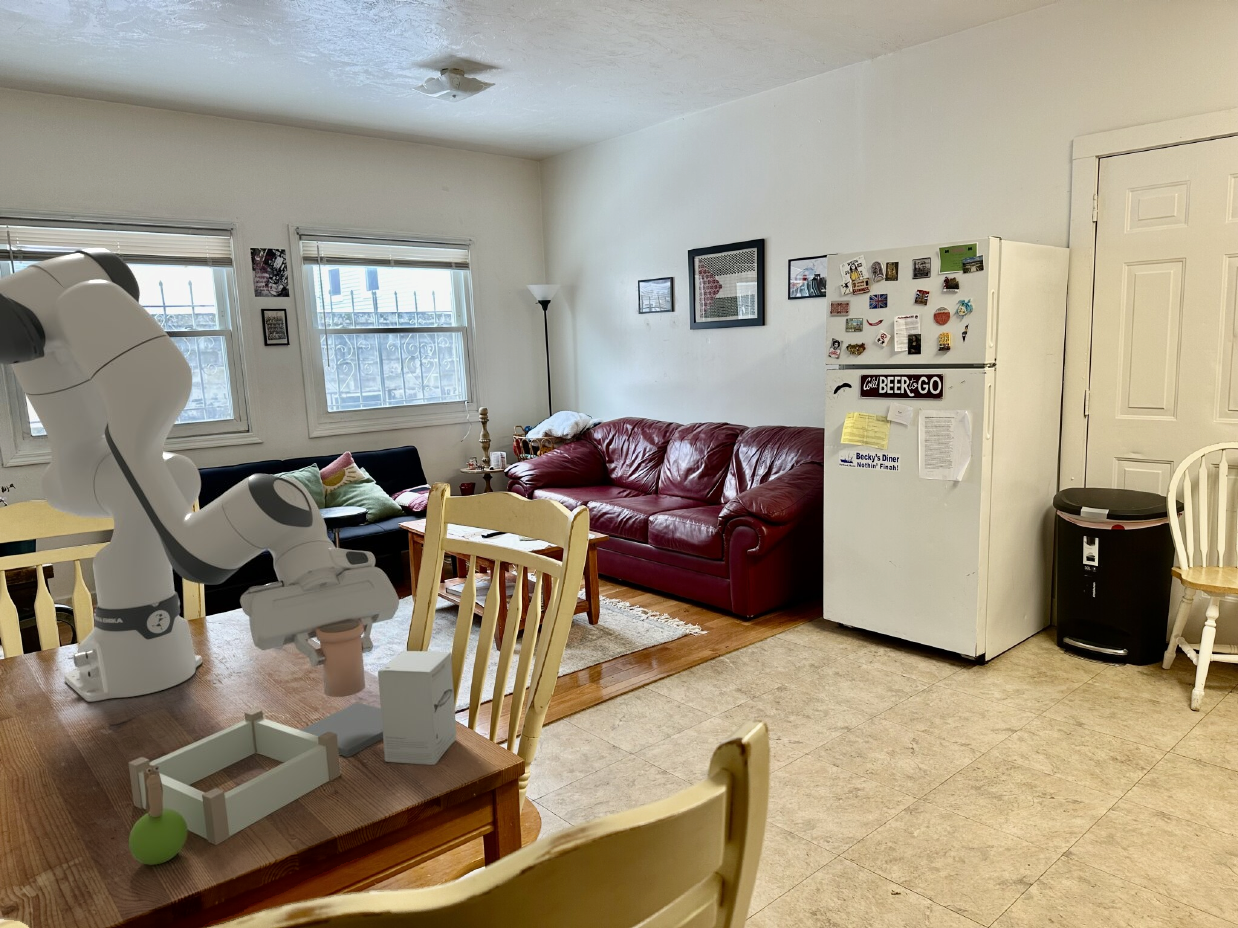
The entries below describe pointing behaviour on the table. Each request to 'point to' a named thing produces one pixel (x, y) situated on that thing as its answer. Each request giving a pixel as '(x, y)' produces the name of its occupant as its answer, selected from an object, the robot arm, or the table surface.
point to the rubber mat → (351, 727)
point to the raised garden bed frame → (256, 798)
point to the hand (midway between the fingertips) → (343, 656)
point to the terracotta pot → (342, 657)
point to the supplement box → (417, 707)
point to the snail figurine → (156, 825)
